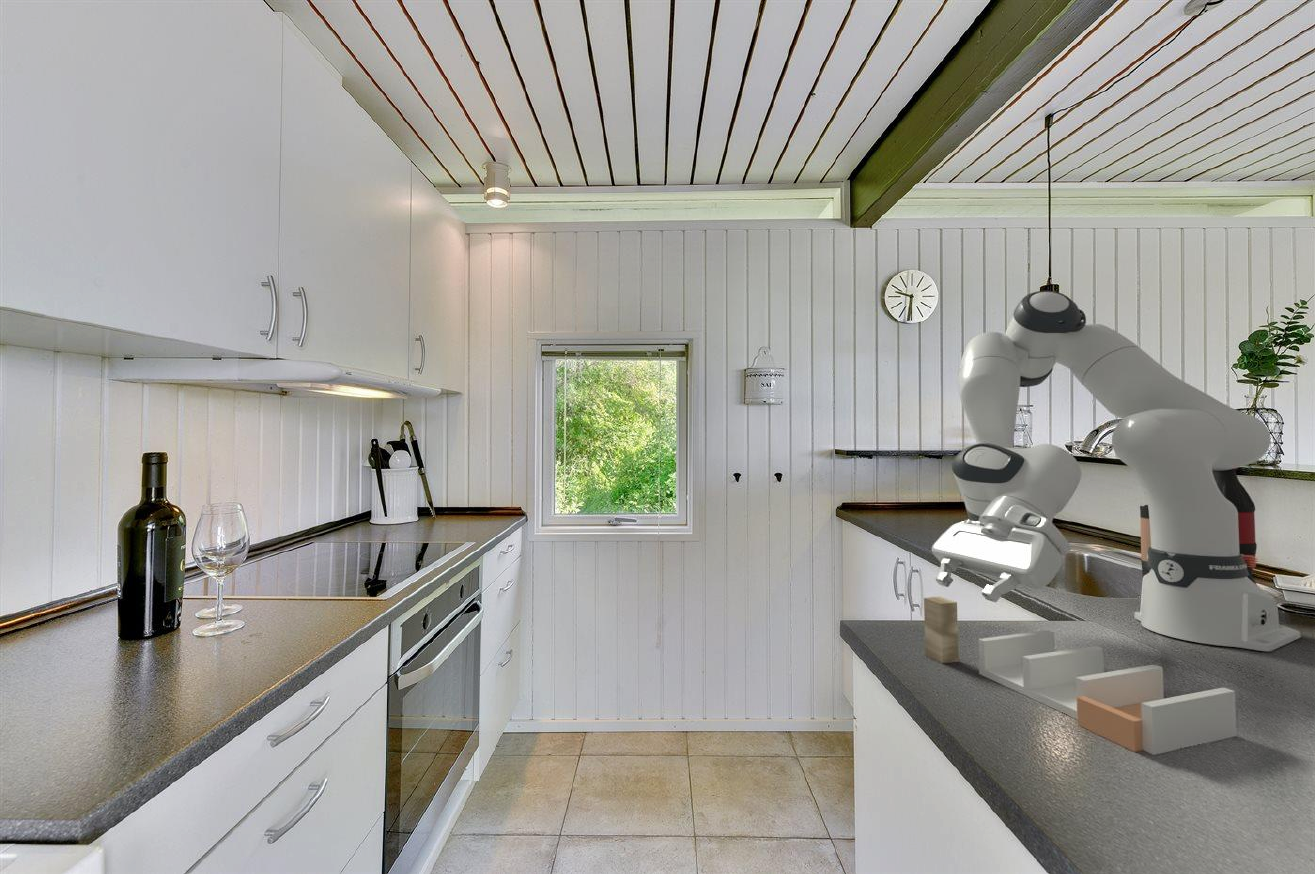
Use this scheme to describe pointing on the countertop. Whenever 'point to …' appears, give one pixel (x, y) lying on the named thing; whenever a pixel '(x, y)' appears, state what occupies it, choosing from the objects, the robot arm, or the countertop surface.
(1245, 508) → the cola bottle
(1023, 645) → the rack
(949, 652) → the block
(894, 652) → the countertop surface
